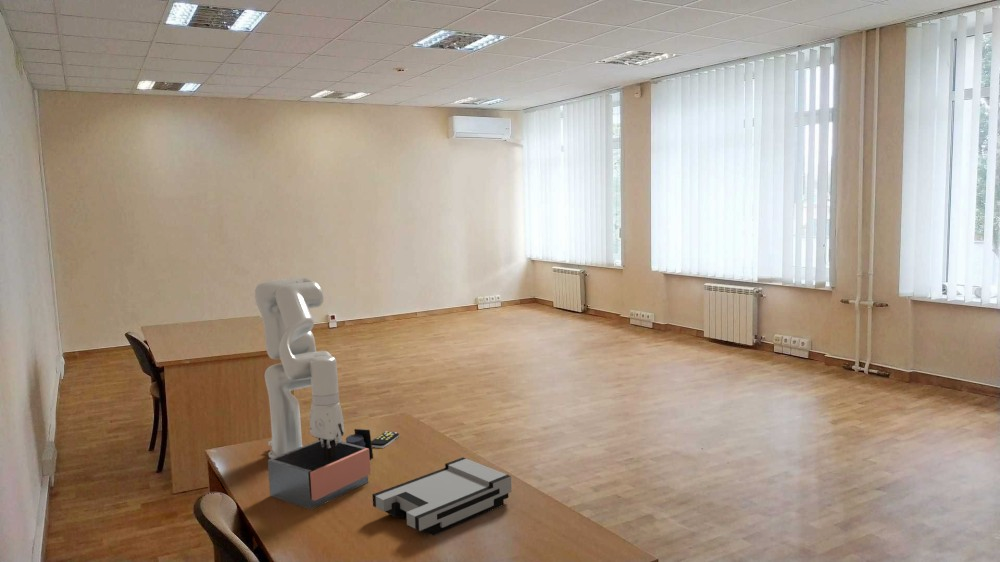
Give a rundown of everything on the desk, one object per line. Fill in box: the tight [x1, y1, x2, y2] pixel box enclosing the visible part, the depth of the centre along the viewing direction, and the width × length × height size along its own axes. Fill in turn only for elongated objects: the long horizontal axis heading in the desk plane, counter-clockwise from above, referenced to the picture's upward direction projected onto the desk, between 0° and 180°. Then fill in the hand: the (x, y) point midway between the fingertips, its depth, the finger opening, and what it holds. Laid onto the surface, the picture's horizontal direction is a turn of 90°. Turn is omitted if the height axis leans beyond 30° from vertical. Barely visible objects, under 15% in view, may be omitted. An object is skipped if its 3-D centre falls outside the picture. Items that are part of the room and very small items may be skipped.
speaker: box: [345, 428, 374, 459], centre depth 235 cm, size 8×6×10 cm
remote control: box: [371, 431, 400, 449], centre depth 253 cm, size 6×13×2 cm, turn 161°
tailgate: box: [310, 448, 371, 501], centre depth 208 cm, size 1×22×8 cm, turn 145°
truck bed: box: [267, 439, 369, 510], centre depth 213 cm, size 18×22×11 cm
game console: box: [371, 457, 513, 537], centre depth 197 cm, size 21×32×8 cm, turn 133°
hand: (329, 459), depth 210 cm, fingers closed
